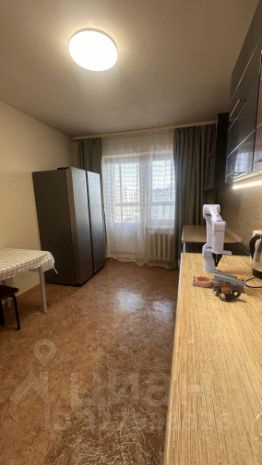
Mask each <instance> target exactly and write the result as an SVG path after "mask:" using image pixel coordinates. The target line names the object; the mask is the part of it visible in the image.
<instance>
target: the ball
mask: <svg viewBox="0 0 262 465" xmlns="http://www.w3.org/2000/svg"><path fill="white" fill-rule="evenodd" d="M243 277H244V276H243V275H240V274H239V275H237V280H239V281H243V279H244V278H245V277H244V278H243Z"/></svg>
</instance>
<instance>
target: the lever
mask: <svg viewBox="0 0 262 465" xmlns="http://www.w3.org/2000/svg"><path fill="white" fill-rule="evenodd" d="M212 276H213V278H212V279H218V280H222V281H226V282H230V283H234V284H237V285H238V287H239V288H244V289H245V286H246V284H247V280H246V278H245V277H244V276H243V278H244V279H243V281H239V280H237V276H238V275H237V276H236V275H232V274H227V273H224V272H220V271H219V269H218V268H216V269H214V268H213V272H212Z"/></svg>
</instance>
